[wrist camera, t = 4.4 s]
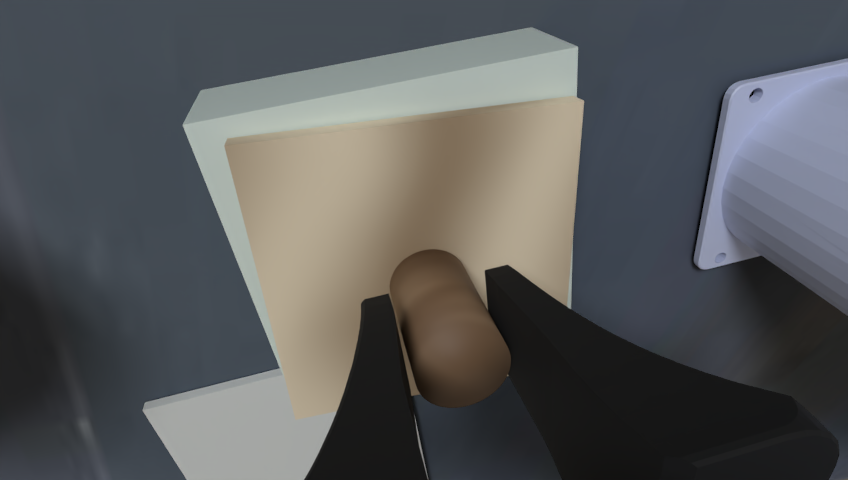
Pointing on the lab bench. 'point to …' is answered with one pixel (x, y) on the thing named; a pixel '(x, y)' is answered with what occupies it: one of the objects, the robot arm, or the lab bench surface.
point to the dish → (370, 107)
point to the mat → (240, 430)
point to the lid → (407, 237)
